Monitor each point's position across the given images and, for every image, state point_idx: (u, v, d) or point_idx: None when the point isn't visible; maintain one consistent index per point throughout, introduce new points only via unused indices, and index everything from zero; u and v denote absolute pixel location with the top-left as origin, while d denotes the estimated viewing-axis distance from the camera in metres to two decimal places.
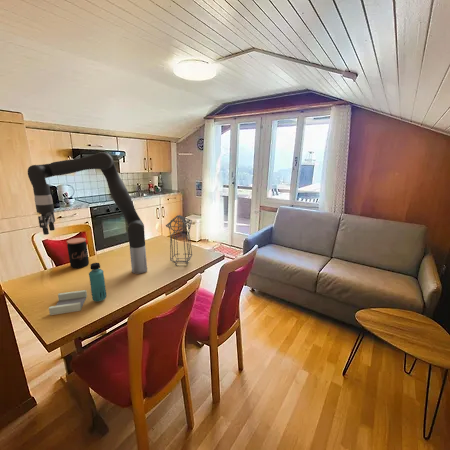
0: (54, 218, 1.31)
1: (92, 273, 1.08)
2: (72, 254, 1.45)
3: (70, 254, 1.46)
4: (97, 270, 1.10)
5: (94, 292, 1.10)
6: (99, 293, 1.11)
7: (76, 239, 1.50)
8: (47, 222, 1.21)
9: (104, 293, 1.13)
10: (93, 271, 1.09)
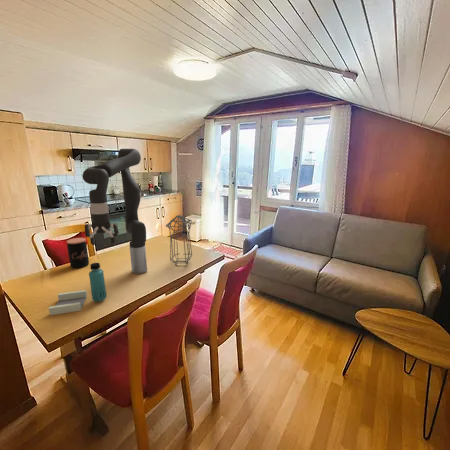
0: None
1: (92, 273, 1.08)
2: (72, 254, 1.45)
3: (70, 254, 1.46)
4: (97, 270, 1.10)
5: (94, 292, 1.10)
6: (99, 293, 1.11)
7: (76, 239, 1.50)
8: (111, 230, 1.12)
9: (104, 293, 1.13)
10: (93, 271, 1.09)
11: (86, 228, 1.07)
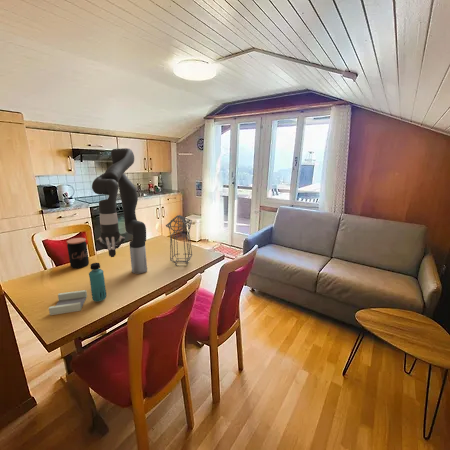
0: None
1: (92, 273, 1.08)
2: (72, 254, 1.45)
3: (70, 254, 1.46)
4: (97, 270, 1.10)
5: (94, 292, 1.10)
6: (99, 293, 1.11)
7: (76, 239, 1.50)
8: None
9: (104, 293, 1.13)
10: (93, 271, 1.09)
11: (99, 242, 1.07)
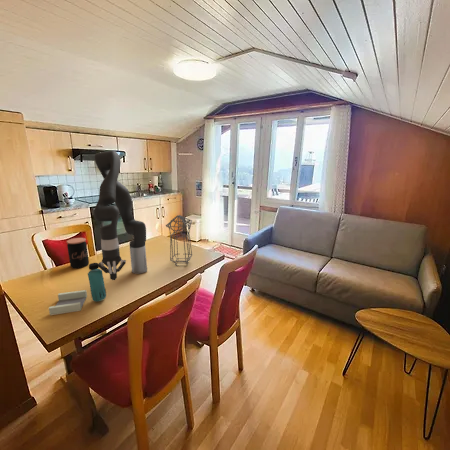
0: None
1: (91, 273, 1.08)
2: (72, 254, 1.45)
3: (70, 254, 1.46)
4: (96, 270, 1.10)
5: (93, 293, 1.10)
6: (99, 293, 1.11)
7: (76, 239, 1.50)
8: (116, 266, 1.14)
9: (104, 293, 1.13)
10: (92, 271, 1.09)
11: (101, 267, 1.09)
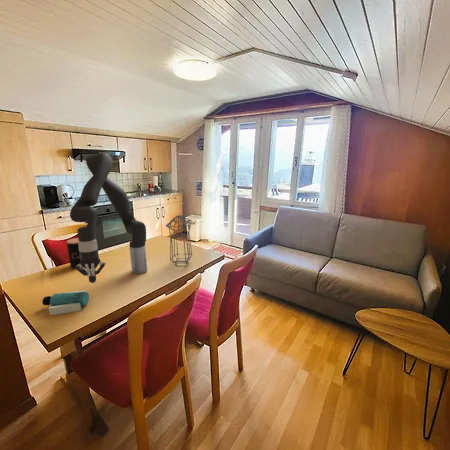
0: None
1: (51, 305, 1.06)
2: (72, 254, 1.45)
3: (70, 254, 1.46)
4: None
5: None
6: (73, 302, 1.06)
7: (76, 239, 1.50)
8: (95, 268, 1.11)
9: (77, 296, 1.06)
10: None
11: (79, 269, 1.07)
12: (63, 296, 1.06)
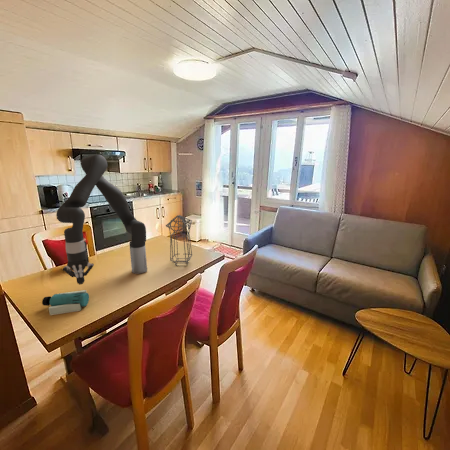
0: None
1: None
2: None
3: None
4: None
5: None
6: None
7: None
8: (83, 269, 1.10)
9: (76, 298, 1.06)
10: None
11: (66, 270, 1.05)
12: (63, 298, 1.06)
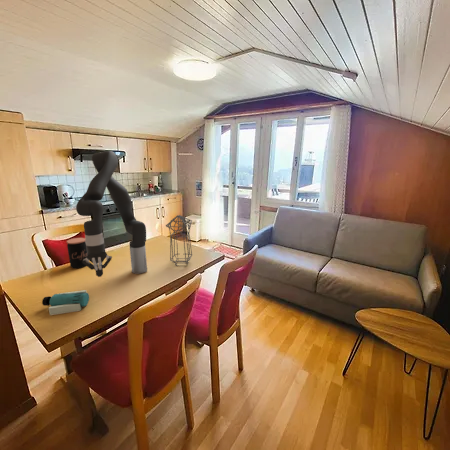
0: None
1: None
2: (72, 254, 1.45)
3: (70, 254, 1.46)
4: None
5: None
6: None
7: (76, 239, 1.50)
8: None
9: (76, 298, 1.06)
10: None
11: (86, 263, 1.07)
12: (63, 298, 1.06)
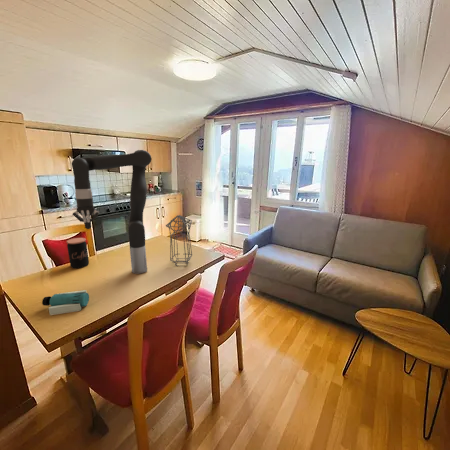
0: None
1: None
2: (72, 254, 1.45)
3: (70, 254, 1.46)
4: None
5: None
6: None
7: (76, 239, 1.50)
8: (90, 216, 1.25)
9: (76, 298, 1.06)
10: None
11: (75, 215, 1.20)
12: (63, 298, 1.06)
